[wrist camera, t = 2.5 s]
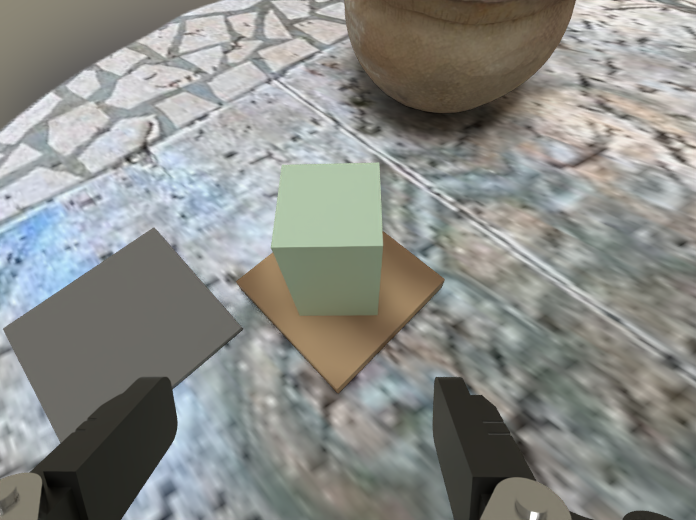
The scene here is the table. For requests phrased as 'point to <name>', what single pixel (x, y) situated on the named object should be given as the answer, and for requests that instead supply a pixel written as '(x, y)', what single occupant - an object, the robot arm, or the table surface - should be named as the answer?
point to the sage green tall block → (330, 237)
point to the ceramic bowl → (454, 47)
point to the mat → (118, 331)
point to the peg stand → (345, 330)
